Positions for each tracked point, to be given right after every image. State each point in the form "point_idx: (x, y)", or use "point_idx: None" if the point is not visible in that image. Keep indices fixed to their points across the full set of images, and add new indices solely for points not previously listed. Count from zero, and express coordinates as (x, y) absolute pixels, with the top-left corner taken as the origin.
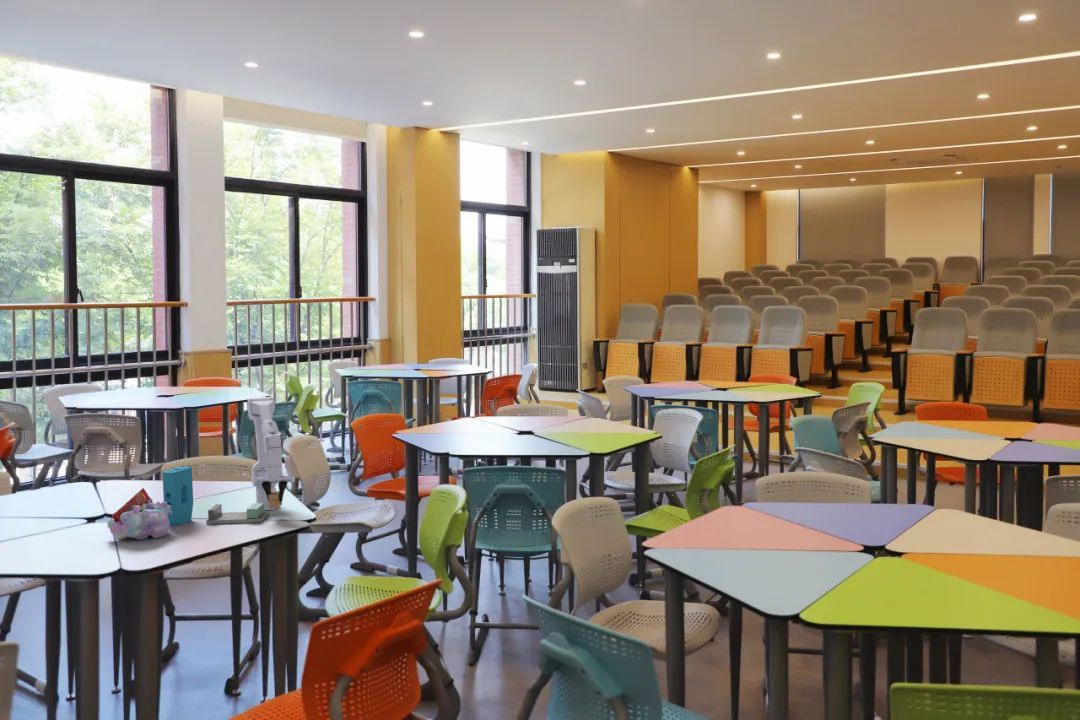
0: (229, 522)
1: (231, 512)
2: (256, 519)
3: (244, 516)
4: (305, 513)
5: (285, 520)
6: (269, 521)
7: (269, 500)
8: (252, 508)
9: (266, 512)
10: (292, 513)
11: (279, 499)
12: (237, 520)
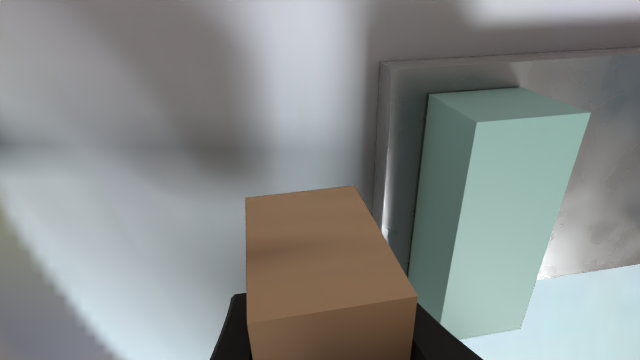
0: (636, 49)
1: (613, 265)
2: (434, 64)
3: None
4: (117, 340)
5: (182, 140)
6: (319, 109)
7: (373, 238)
8: (529, 143)
9: None
10: (219, 333)
11: None
12: (589, 54)
